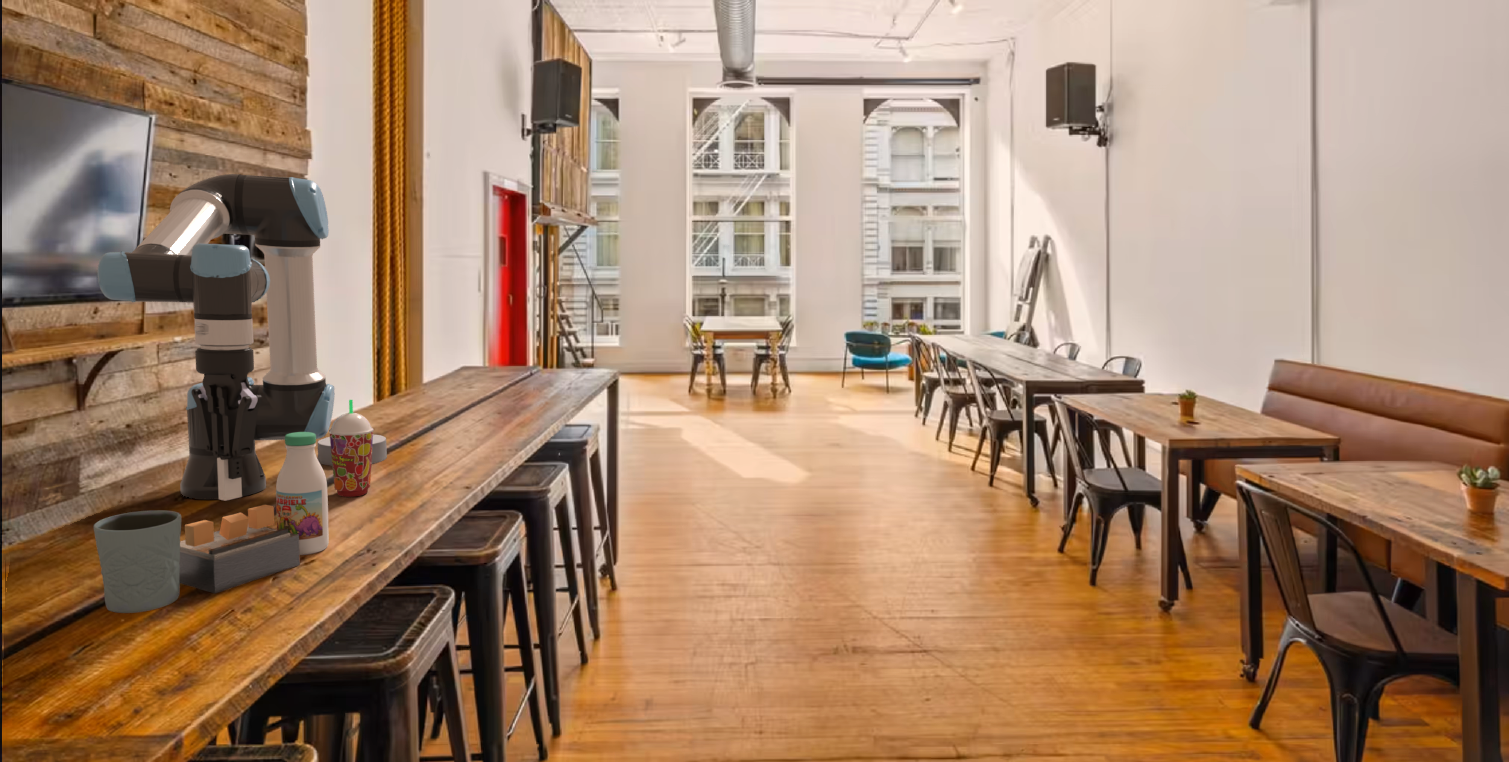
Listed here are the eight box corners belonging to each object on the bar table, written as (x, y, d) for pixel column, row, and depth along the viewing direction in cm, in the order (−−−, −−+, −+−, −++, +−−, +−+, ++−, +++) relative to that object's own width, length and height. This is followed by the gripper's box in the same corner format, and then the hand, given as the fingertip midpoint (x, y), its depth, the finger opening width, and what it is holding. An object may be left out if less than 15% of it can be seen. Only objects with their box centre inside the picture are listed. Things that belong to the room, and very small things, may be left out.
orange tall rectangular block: (185, 544, 127) (184, 525, 127) (205, 538, 130) (204, 520, 130) (194, 546, 127) (193, 527, 126) (214, 541, 129) (213, 522, 129)
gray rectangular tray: (162, 578, 130) (160, 540, 129) (249, 552, 143) (247, 517, 142) (215, 593, 125) (213, 554, 124) (299, 564, 138) (298, 529, 137)
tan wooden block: (248, 527, 137) (247, 508, 136) (265, 522, 139) (265, 504, 139) (257, 529, 136) (256, 510, 135) (274, 524, 139) (273, 506, 138)
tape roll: (303, 462, 204) (302, 441, 204) (350, 450, 219) (350, 431, 218) (355, 469, 200) (355, 448, 199) (400, 456, 214) (400, 437, 214)
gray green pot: (130, 620, 115) (125, 534, 114) (80, 607, 119) (75, 523, 117) (201, 594, 125) (198, 515, 123) (153, 583, 128) (149, 505, 126)
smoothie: (321, 495, 177) (319, 400, 174) (353, 486, 185) (352, 395, 182) (351, 501, 174) (349, 404, 171) (383, 491, 182) (381, 399, 179)
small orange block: (219, 534, 132) (222, 517, 131) (237, 528, 135) (241, 512, 134) (227, 539, 131) (231, 523, 130) (246, 534, 134) (249, 518, 133)
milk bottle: (290, 541, 149) (286, 428, 146) (336, 542, 149) (333, 430, 147) (269, 556, 141) (265, 437, 138) (317, 557, 142) (314, 439, 139)
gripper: (171, 345, 128) (178, 497, 131) (229, 352, 123) (235, 510, 126) (220, 341, 135) (225, 486, 138) (277, 348, 130) (281, 498, 133)
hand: (230, 497), depth 132 cm, fingers closed
